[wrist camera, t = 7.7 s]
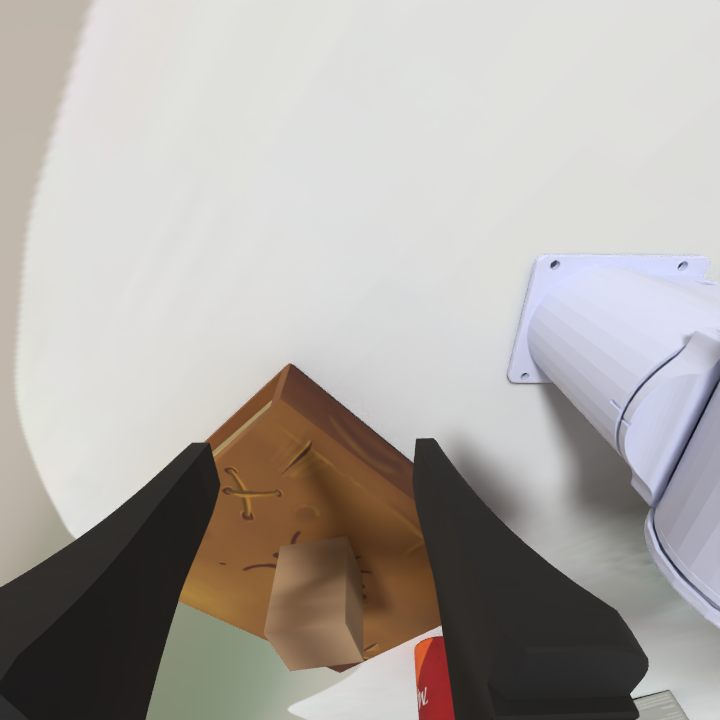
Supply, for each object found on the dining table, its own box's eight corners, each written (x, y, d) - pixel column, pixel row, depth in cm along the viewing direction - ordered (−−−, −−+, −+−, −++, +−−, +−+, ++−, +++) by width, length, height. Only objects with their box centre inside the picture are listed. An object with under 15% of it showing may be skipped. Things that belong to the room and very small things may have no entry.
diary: (491, 520, 31) (518, 589, 26) (341, 604, 38) (340, 672, 32) (292, 356, 23) (275, 411, 18) (140, 497, 29) (96, 568, 24)
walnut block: (346, 535, 23) (345, 622, 19) (362, 575, 25) (363, 661, 21) (280, 546, 24) (263, 633, 19) (300, 584, 26) (290, 671, 21)
